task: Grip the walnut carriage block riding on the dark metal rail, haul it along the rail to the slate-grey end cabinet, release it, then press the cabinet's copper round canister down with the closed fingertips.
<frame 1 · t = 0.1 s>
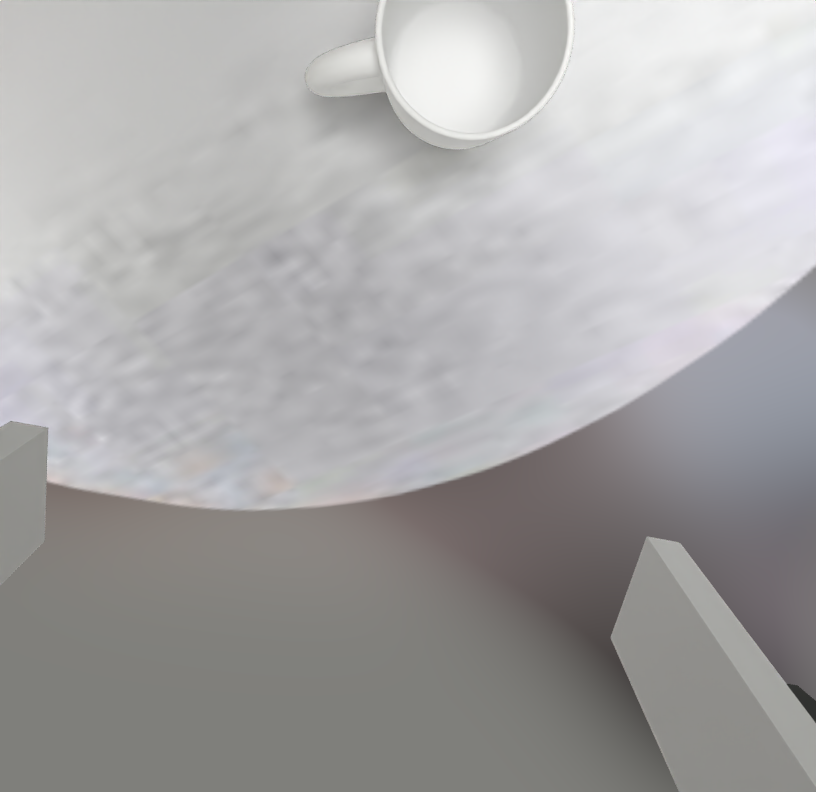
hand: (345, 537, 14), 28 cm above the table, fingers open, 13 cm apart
mug: (423, 77, 37), on the table
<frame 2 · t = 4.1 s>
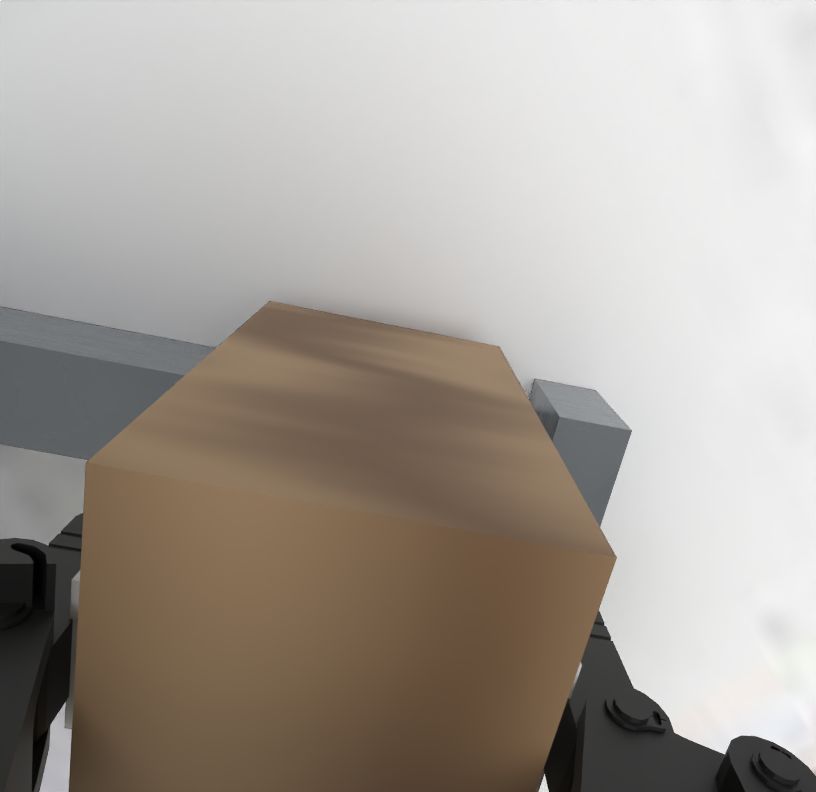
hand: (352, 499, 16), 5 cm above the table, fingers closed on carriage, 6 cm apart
rail: (211, 393, 21), on the table
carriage: (347, 529, 15), point 7 cm above the table, slide at 11.0 cm, touching gripper
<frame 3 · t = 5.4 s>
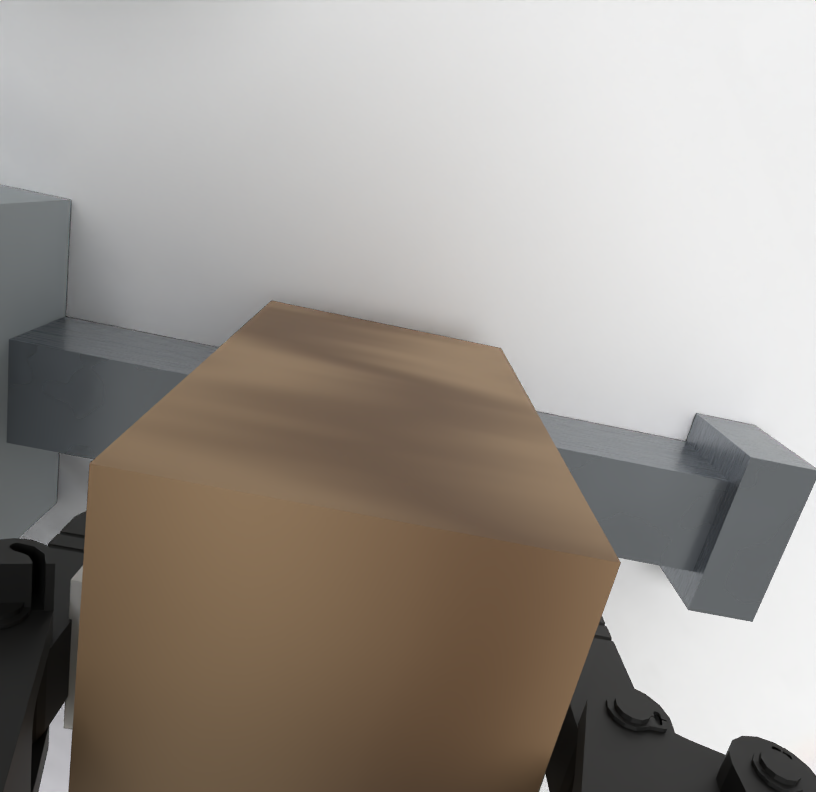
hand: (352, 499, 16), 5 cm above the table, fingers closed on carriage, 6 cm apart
rail: (376, 424, 21), on the table
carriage: (347, 530, 15), point 7 cm above the table, slide at 5.6 cm, touching gripper
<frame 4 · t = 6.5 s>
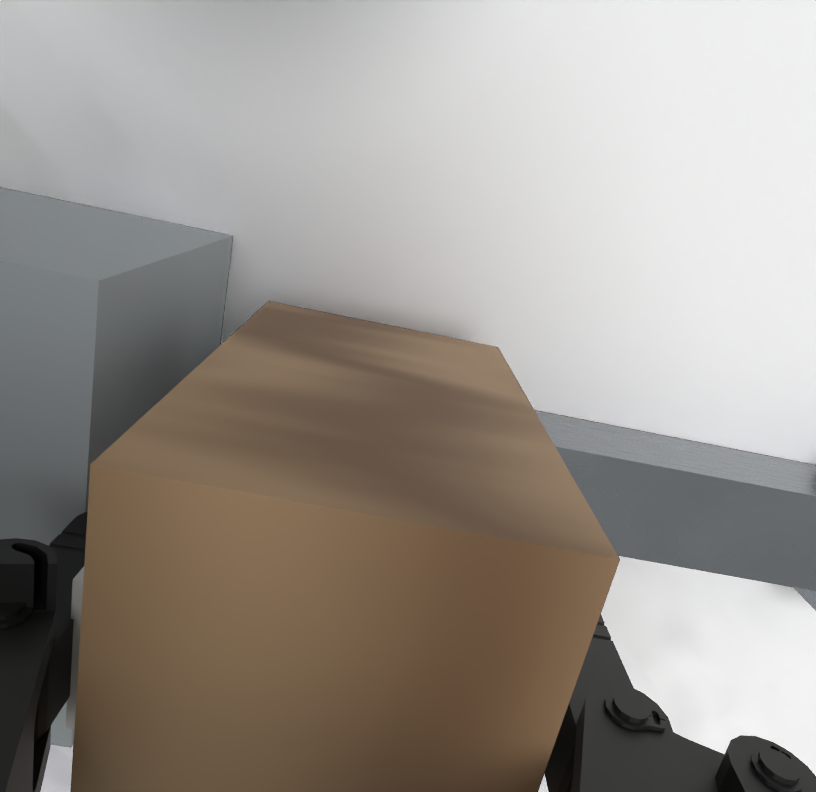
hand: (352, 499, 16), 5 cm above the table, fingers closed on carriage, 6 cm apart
rail: (518, 451, 22), on the table
cabinet: (86, 369, 21), on the table
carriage: (346, 529, 15), point 7 cm above the table, slide at 0.8 cm, touching gripper
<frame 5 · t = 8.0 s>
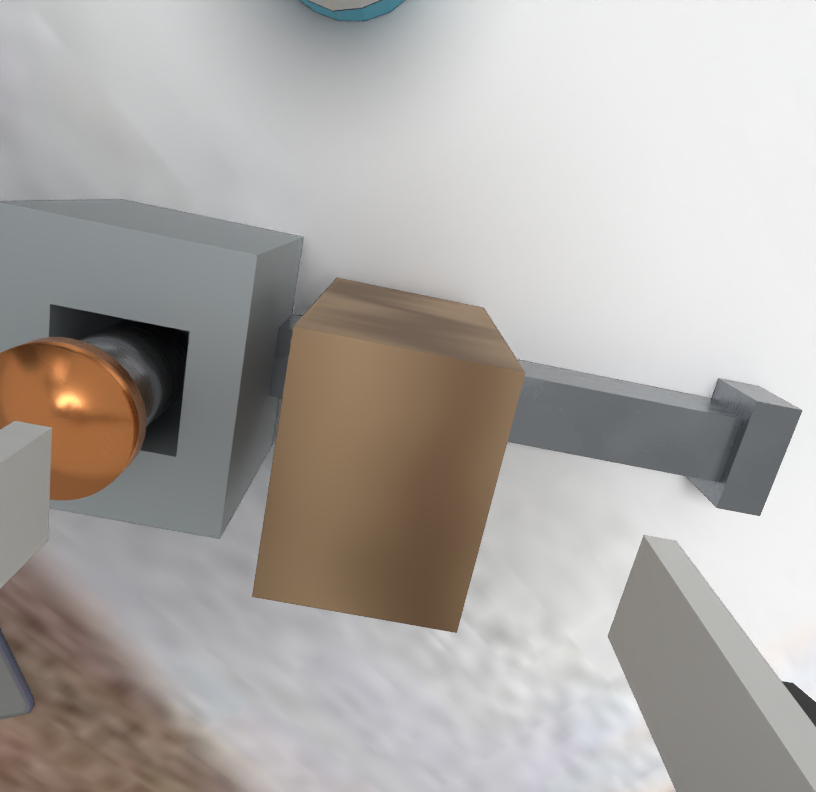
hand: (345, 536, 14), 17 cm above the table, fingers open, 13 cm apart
rail: (497, 387, 31), on the table
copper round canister: (107, 388, 21), point 10 cm above the table, slide at 0.1 cm
cabinet: (200, 328, 30), on the table
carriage: (388, 414, 24), point 7 cm above the table, slide at 1.0 cm
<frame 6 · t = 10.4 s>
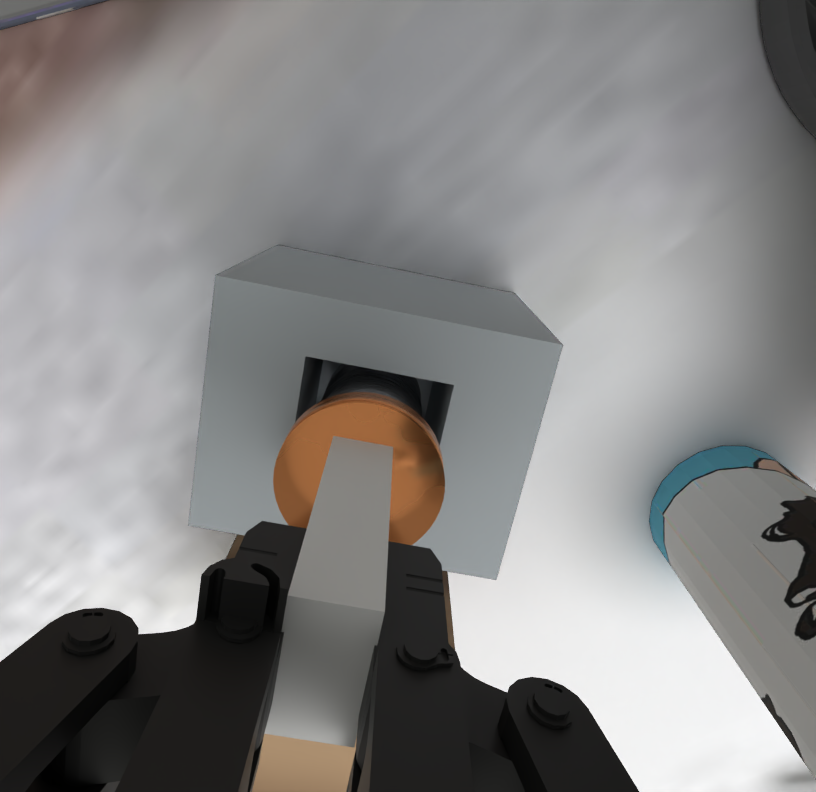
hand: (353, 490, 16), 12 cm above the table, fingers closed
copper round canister: (367, 434, 20), point 9 cm above the table, slide at -0.9 cm, touching gripper
cabinet: (379, 361, 28), on the table
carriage: (327, 636, 25), point 7 cm above the table, slide at 1.0 cm
cup: (719, 509, 31), on the table
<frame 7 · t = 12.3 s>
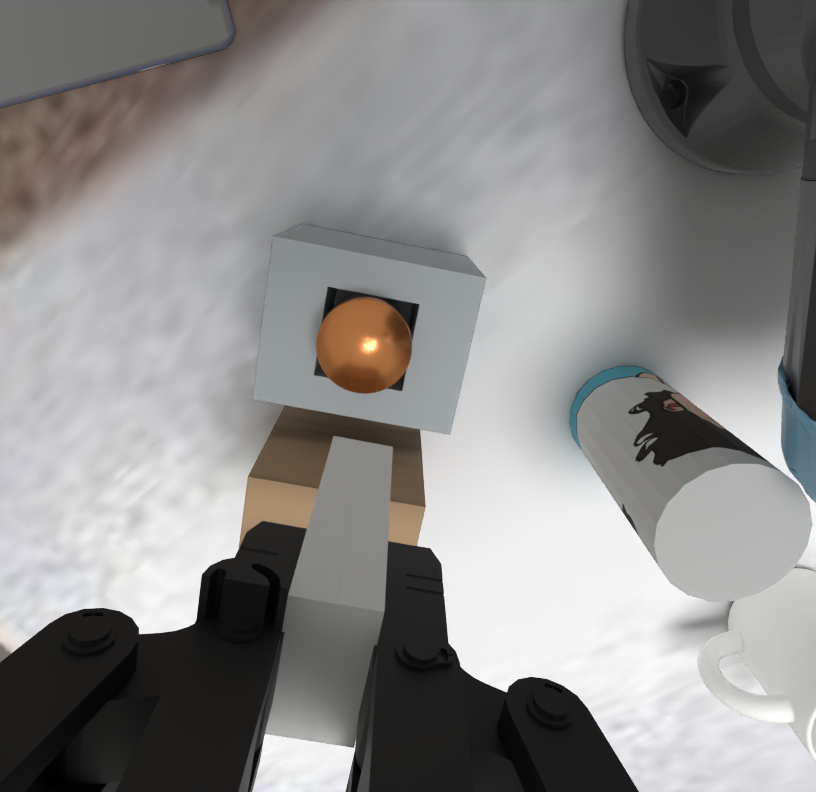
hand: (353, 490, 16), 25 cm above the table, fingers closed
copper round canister: (367, 331, 33), point 7 cm above the table, slide at -2.5 cm
cabinet: (373, 306, 40), on the table
mug: (753, 614, 47), on the table
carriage: (339, 487, 36), point 7 cm above the table, slide at 1.0 cm
smartphone: (88, 6, 35), on the table
cup: (620, 414, 43), on the table
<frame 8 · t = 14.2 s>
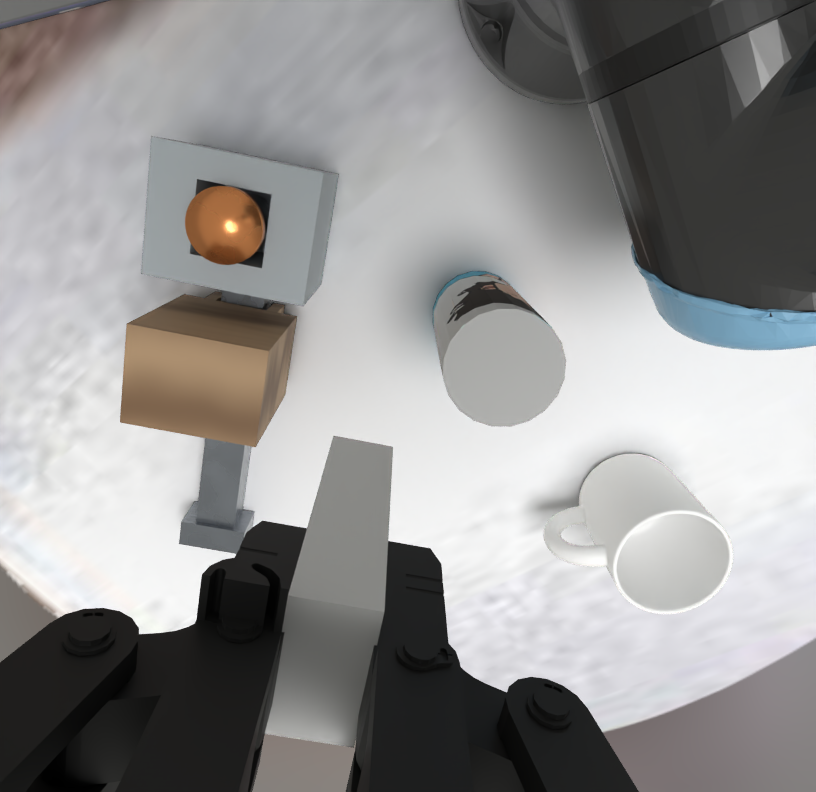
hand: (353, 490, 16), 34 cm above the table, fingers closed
rail: (239, 395, 52), on the table
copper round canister: (238, 222, 41), point 7 cm above the table, slide at -2.5 cm
cabinet: (261, 216, 48), on the table
mug: (602, 497, 55), on the table
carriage: (222, 358, 44), point 7 cm above the table, slide at 1.0 cm
cup: (476, 314, 50), on the table
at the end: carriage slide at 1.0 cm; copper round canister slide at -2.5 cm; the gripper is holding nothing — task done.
